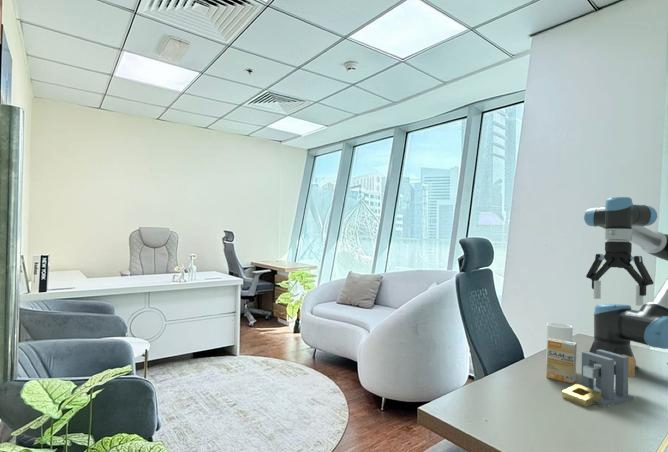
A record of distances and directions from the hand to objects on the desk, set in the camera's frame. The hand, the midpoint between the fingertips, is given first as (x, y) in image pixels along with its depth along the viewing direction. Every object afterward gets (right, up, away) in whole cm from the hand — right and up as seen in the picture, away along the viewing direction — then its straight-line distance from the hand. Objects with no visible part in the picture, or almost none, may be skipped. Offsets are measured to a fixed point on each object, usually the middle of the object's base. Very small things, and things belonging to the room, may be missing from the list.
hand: (617, 301), depth 132 cm
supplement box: (-22, -26, -3) cm, 34 cm away
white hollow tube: (-16, -27, +8) cm, 32 cm away
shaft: (-14, -21, -15) cm, 29 cm away
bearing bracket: (-17, -26, -17) cm, 35 cm away
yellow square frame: (-26, -24, -20) cm, 40 cm away
